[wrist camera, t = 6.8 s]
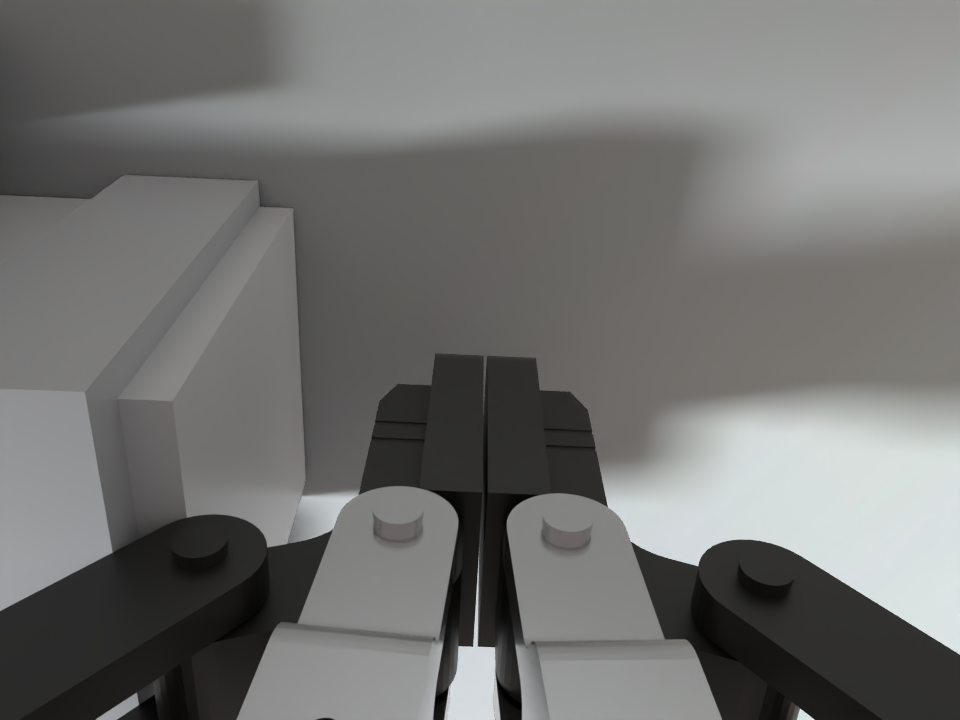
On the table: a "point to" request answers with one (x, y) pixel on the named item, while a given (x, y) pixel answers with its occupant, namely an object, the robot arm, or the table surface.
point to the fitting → (143, 372)
